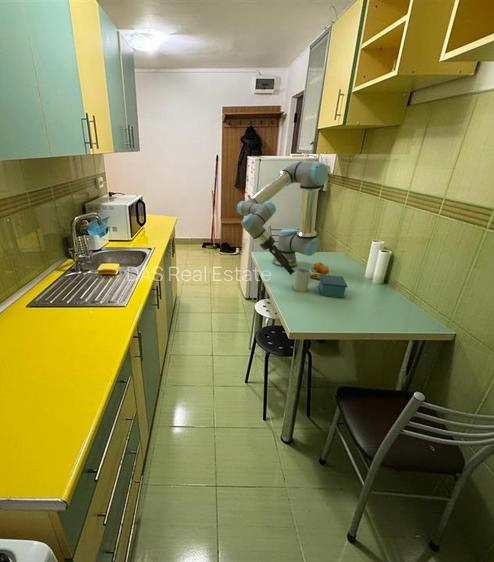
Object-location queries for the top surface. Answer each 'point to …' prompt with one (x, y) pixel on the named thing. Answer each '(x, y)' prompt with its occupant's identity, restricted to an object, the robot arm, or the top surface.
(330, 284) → the container
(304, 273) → the cup
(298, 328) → the top surface
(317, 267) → the cheeseburger
